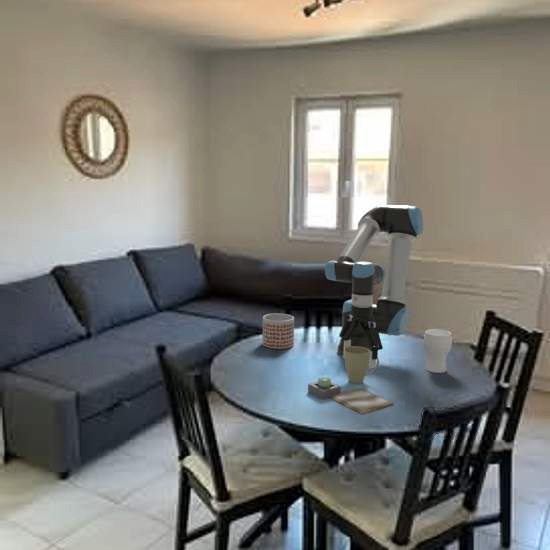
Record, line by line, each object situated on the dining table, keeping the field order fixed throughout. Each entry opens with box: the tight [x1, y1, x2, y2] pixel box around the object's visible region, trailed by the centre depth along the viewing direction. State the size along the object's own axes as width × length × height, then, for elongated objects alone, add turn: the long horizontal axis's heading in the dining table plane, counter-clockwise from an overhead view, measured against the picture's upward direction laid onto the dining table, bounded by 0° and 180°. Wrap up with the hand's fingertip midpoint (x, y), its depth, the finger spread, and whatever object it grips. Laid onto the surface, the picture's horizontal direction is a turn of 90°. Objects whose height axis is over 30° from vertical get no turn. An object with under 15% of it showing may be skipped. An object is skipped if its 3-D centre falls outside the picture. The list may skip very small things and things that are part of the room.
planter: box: [262, 313, 295, 351], centre depth 249 cm, size 14×14×13 cm
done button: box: [317, 376, 332, 389], centre depth 196 cm, size 4×4×3 cm
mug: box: [344, 346, 380, 385], centre depth 207 cm, size 11×10×12 cm
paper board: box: [328, 387, 394, 415], centre depth 190 cm, size 16×14×1 cm
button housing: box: [307, 380, 342, 401], centre depth 196 cm, size 8×8×3 cm
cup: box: [422, 328, 453, 374], centre depth 220 cm, size 11×11×15 cm
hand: (359, 362), depth 207 cm, fingers open, 13 cm apart
